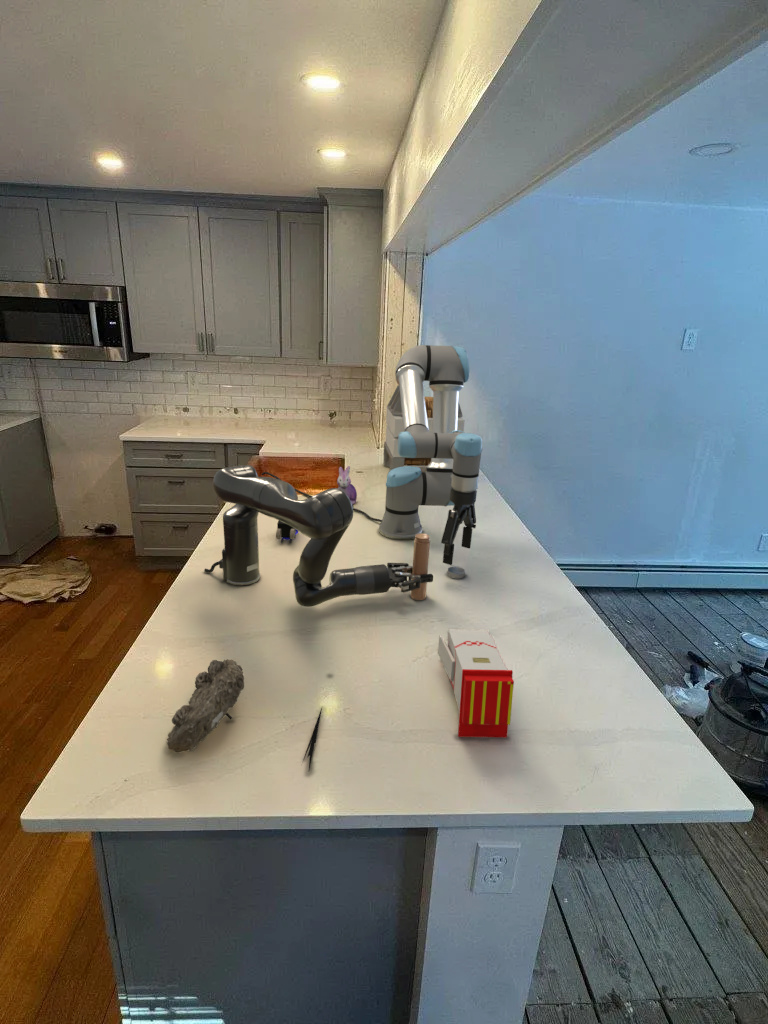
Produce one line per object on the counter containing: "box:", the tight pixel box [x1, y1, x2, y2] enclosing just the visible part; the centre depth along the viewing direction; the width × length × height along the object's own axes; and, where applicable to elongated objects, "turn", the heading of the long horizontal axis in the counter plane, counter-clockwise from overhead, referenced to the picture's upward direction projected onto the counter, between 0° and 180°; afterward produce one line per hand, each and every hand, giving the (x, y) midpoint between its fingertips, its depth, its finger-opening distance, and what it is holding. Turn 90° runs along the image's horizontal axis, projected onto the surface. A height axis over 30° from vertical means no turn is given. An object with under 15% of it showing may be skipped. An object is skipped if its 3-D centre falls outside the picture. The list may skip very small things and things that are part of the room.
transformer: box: [383, 384, 465, 471], centre depth 268 cm, size 34×33×41 cm
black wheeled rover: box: [275, 520, 299, 544], centre depth 191 cm, size 7×8×15 cm
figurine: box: [336, 465, 358, 505], centre depth 226 cm, size 9×10×15 cm
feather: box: [301, 673, 332, 771], centre depth 108 cm, size 2×28×2 cm
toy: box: [437, 628, 515, 738], centre depth 117 cm, size 12×13×30 cm
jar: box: [409, 533, 431, 601], centre depth 154 cm, size 4×4×18 cm
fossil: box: [166, 658, 245, 754], centre depth 106 cm, size 22×10×15 cm
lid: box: [446, 566, 466, 580], centre depth 171 cm, size 5×5×2 cm
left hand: (428, 573), depth 156 cm, fingers closed on jar, 4 cm apart
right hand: (456, 555), depth 170 cm, fingers open, 13 cm apart
